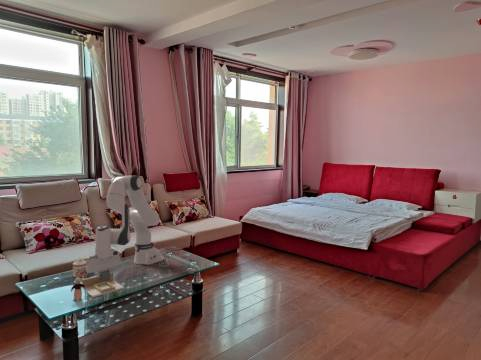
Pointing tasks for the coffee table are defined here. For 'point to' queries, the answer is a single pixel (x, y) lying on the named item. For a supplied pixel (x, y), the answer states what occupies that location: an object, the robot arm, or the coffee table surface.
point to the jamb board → (100, 286)
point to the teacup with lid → (79, 268)
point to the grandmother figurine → (77, 289)
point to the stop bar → (104, 275)
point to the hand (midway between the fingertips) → (103, 276)
